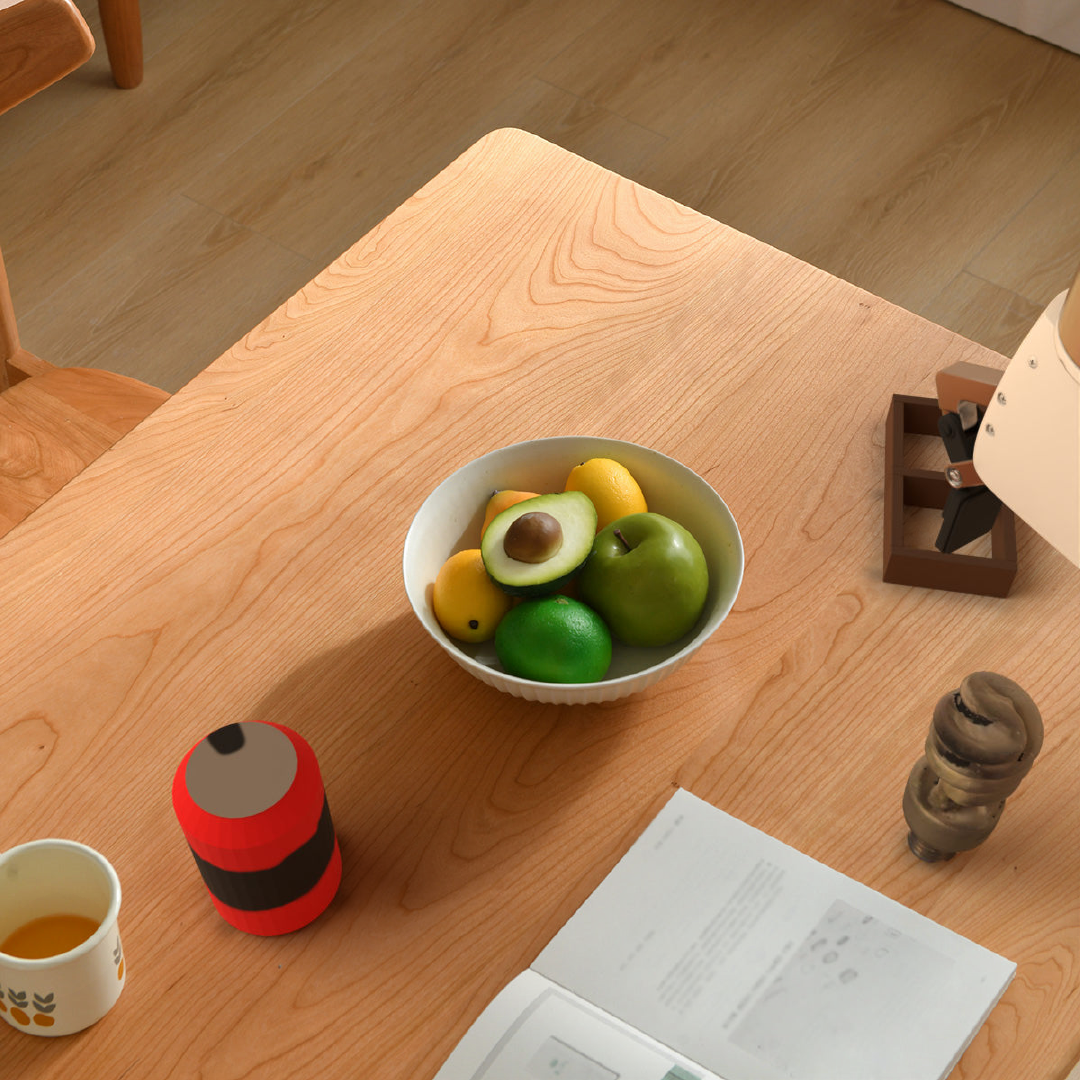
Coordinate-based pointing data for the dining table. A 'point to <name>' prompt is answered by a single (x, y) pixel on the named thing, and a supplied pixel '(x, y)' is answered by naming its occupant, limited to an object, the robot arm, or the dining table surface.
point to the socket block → (933, 493)
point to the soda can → (259, 826)
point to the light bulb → (970, 765)
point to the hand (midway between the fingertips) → (1037, 607)
